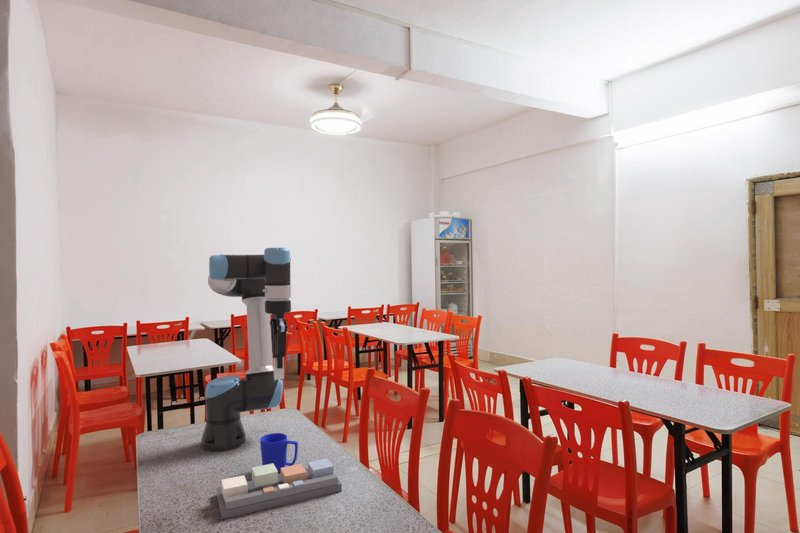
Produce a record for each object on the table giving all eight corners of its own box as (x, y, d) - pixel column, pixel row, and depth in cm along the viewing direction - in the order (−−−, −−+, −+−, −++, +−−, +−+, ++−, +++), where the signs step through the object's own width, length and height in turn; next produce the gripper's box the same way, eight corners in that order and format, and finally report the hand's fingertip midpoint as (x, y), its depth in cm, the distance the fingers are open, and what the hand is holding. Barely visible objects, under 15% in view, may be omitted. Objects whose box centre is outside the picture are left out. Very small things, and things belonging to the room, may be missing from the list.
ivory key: (221, 490, 130) (221, 479, 130) (244, 485, 133) (244, 475, 133) (224, 500, 125) (223, 489, 125) (247, 495, 127) (247, 484, 127)
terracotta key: (280, 478, 137) (280, 467, 137) (301, 473, 140) (301, 463, 140) (285, 487, 132) (285, 476, 132) (306, 482, 134) (306, 471, 134)
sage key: (251, 478, 134) (251, 467, 134) (273, 473, 136) (273, 463, 136) (255, 487, 128) (255, 476, 128) (277, 482, 131) (277, 471, 131)
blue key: (307, 472, 141) (307, 462, 141) (327, 468, 143) (327, 458, 143) (313, 480, 135) (313, 470, 135) (333, 476, 138) (333, 466, 138)
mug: (292, 477, 144) (291, 444, 143) (255, 474, 146) (255, 441, 146) (303, 465, 152) (302, 434, 152) (268, 462, 154) (267, 432, 154)
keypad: (216, 495, 133) (216, 479, 133) (326, 471, 147) (326, 457, 147) (221, 519, 121) (221, 502, 121) (341, 490, 135) (341, 475, 135)
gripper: (260, 298, 145) (262, 375, 146) (269, 301, 134) (270, 385, 134) (285, 297, 149) (286, 372, 149) (295, 300, 137) (296, 382, 137)
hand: (279, 378), depth 142 cm, fingers closed
